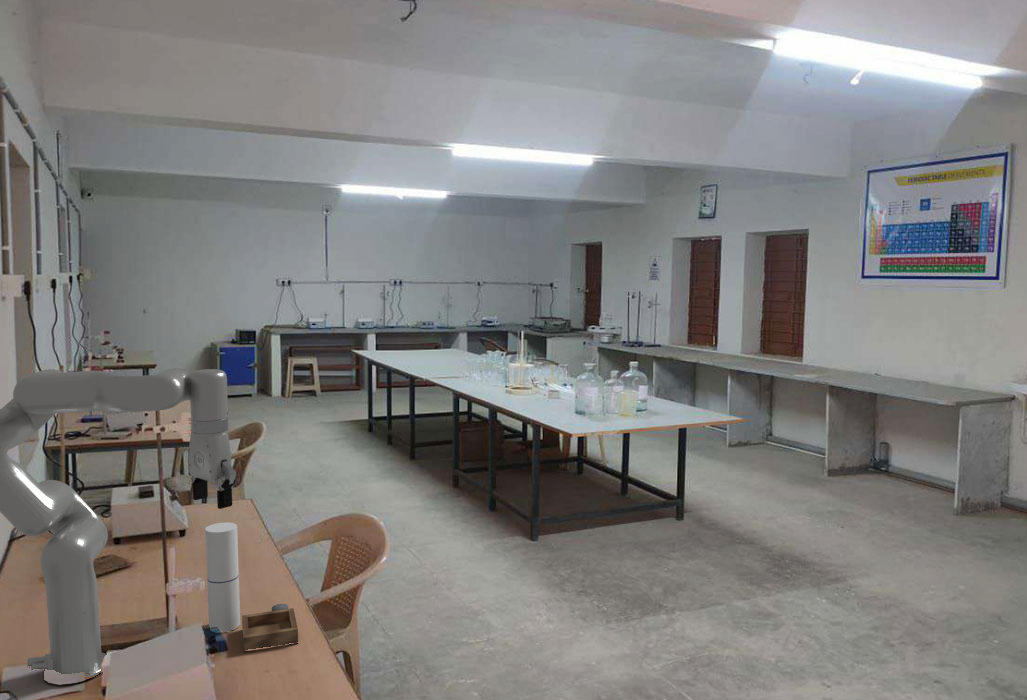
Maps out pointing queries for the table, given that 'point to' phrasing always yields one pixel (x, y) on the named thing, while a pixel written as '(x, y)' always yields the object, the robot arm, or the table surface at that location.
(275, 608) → the rubber stopper
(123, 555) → the table surface
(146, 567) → the table surface
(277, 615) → the walnut stand
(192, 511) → the table surface
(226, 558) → the cylindrical container
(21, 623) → the table surface
